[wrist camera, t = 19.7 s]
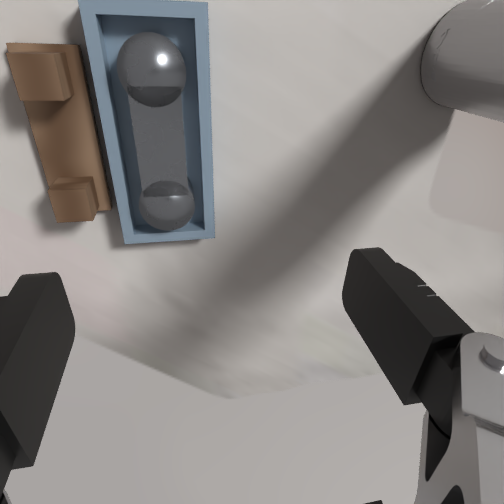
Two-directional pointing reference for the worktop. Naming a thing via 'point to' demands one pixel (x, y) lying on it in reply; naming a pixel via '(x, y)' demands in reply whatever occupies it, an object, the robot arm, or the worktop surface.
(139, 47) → the steel dumbbell
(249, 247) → the worktop surface
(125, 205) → the slate-blue tray
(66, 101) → the wooden plank with blocks
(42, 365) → the robot arm
